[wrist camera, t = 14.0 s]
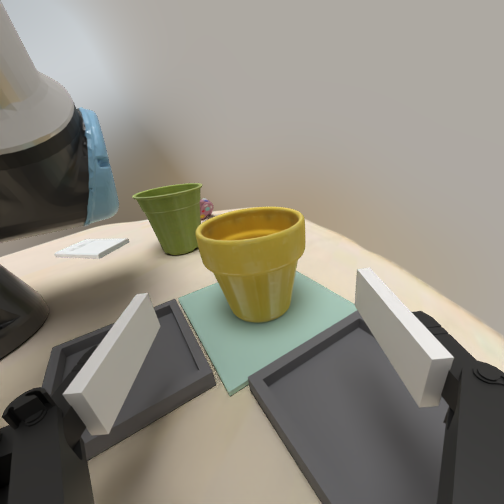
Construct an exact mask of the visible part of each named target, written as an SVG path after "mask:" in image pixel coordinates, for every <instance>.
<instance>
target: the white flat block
mask: <svg viewBox="0 0 504 504" xmlns="http://www.w3.org/2000/svg"><path fill="white" fill-rule="evenodd" d="M127 243H129V239H85V240H83V241H81V242H78V243H76V244H74V245H72V246H69V247H67V248H65V249H62V250H60V251H58V252H56V253H55V256H56V257H61V258H91V259H100V258H102V257H104V256H105V255H107V254H109V253H111V252H113V251H114V250H116V249H118V248H120V247H122V246H123V245H125V244H127Z"/></svg>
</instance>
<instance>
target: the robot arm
mask: <svg viewBox="0 0 504 504" xmlns="http://www.w3.org/2000/svg"><path fill="white" fill-rule="evenodd" d="M118 208H119V202H118V196H117V192H116V188H115V183H114V179H113V174H112V171H111V167H110V164H109V159H108V155H107V150H106V146H105V143H104V138H103V134H102V131H101V127H100V124H99V120H98V118H97V115H96V113H94V112H93V111H91V110H86V109H83V108H79V109H76V107H75V105H74V102H73V100H72V98H71V96H70V94H69V93H68V91H67V90H66V89H65V88H64V87H63V86H62V85H61V84H60V83H58V82H57V81H55V80H53V79H52V78H50V77H48V76H46V75H44V74H42V73H40V72H38V71H37V70H36V68H35V66H34V64H33V62H32V60H31V59H30V57H29V55H28V53H27V51H26V49H25V47H24V45H23V43H22V41H21V39H20V37H19V36H18V33H17V31H16V30H15V28H14V26H13V24H12V22H11V20H10V18H9V16H8V14H7V12H6V11H5V8H4V6H3V4H2V3H1V1H0V243H3V242H8V241H13V240H18V239H22V238H27V237H32V236H37V235H41V234H46V233H52V232H56V231H61V230H66V229H71V228H75V227H80V226H87V225H89V224H90V223H93V222H97V221H100V220H104V219H107V218H110V217H112V216H114V215H115V214H116V213H117V211H118ZM355 307H356V308H357V310H358V312H359V313H360V315H361V316H362V318H363V320H364V321H365V323H366V324H367V326H368V327H369V329H370V331H371V332H372V334H373V335H374V337H375V339H376V340H377V342H378V343H379V345H380V346H381V348H382V350H383V351H384V353H385V354H386V356H387V357H388V359H389V361H390V362H391V364H392V365H393V367H394V369H395V370H396V372H397V373H398V375H399V376H400V378H401V380H402V381H403V383H404V384H405V386H406V388H407V389H408V391H409V392H410V394H411V395H412V397H413V399H414V400H415V402H416V403H417V405H418V406H419V408H420V407H432V406H439V403H440V400H441V397H443V399H444V400H445V401H446V403H447V404H448V405H449V407H448V410H447V413H446V416H445V419H444V422H443V423H445V424H446V427H445V435H444V444H443V453H442V462H441V470H440V479H439V488H438V497H437V504H504V372H502V371H501V370H499V369H498V368H496V367H494V366H492V365H490V364H487V363H484V362H480V361H477V360H476V359H475V358H474V357H473V356H472V355H471V354H470V353H468V352H467V351H466V350H465V349H464V348H463V347H462V346H461V345H460V344H459V343H458V342H457V341H456V340H455V339H454V338H453V337H452V336H451V335H450V334H448V332H447V331H446V330H445V329H444V328H442V327H441V325H440V324H439V323H438V322H437V321H436V320H435V319H434V318H432V317H431V316H429V315H427V314H425V313H424V312H422V311H417V312H411V311H410V310H409V309H408V308H407V307H406V306H405V305H404V304H403V303H402V302H401V300H400V299H399V298H398V297H397V296H396V295H395V294H394V293H393V292H392V291H391V290H390V289H389V288H388V287H387V286H386V284H385V283H384V282H383V281H382V280H381V279H380V278H379V277H378V276H377V275H376V274H375V273H374V272H373V271H372V270H371V268H363V269H357V278H356V293H355ZM48 313H49V308H48V306H47V305H46V303H45V301H44V300H43V298H42V297H41V295H40V294H39V293H38V292H37V291H35V290H34V289H33V288H31V287H30V286H29V285H27V284H26V283H25V282H23V281H22V280H21V279H19V278H18V277H16V276H15V275H14V274H12V273H11V272H10V271H8V270H7V269H6V268H4V267H3V266H2V265H0V359H1V358H2V357H4V356H5V355H7V354H8V353H10V352H11V351H13V350H14V349H15V348H17V347H18V346H19V345H21V344H22V343H23V342H24V341H26V340H27V339H28V338H29V337H30V336H32V335H33V334H34V333H35V332H36V331H37V330H38V329H39V328H40V327H41V325H42V324H43V323H44V321H45V320H46V318H47V316H48ZM159 328H160V323H159V321H158V318H157V315H156V313H155V310H154V307H153V305H152V302H151V299H150V297H149V294H148V293H143V294H136V295H135V297H134V298H133V299H132V301H131V302H130V304H129V305H128V306H127V308H126V309H125V310H124V312H123V313H122V314H121V316H120V317H119V318H118V320H117V321H116V323H115V324H114V325H113V327H112V328H111V329H110V331H109V332H108V333H107V335H106V336H105V337H104V339H103V340H102V342H101V343H100V344H99V345H96V346H93V347H92V348H91V349H90V350H88V351H87V352H86V353H85V354H84V355H83V356H82V357H81V359H80V360H79V361H78V363H77V365H75V366H74V368H73V369H72V370H71V373H69V374H68V375H67V377H66V378H65V379H64V381H63V382H62V383H61V385H60V386H59V387H58V388H57V390H56V391H55V392H54V394H53V395H52V396H50V395H49V393H48V392H47V391H46V389H45V388H41V387H39V388H34V389H31V390H29V391H27V392H25V393H23V394H22V395H20V396H19V397H17V398H16V399H15V400H14V401H12V402H11V403H10V404H9V405H8V407H7V408H6V409H5V410H4V413H3V415H2V417H3V418H4V420H5V421H6V422H7V423H8V424H9V426H6V427H3V428H1V429H0V504H94V499H93V493H92V487H91V481H90V475H89V469H88V464H87V458H86V452H85V446H84V441H83V439H82V438H81V435H82V434H83V432H84V430H85V428H87V430H88V431H89V433H90V434H91V435H92V436H93V435H104V434H109V432H110V430H111V428H112V426H113V424H114V422H115V420H116V418H117V416H118V414H119V412H120V409H121V407H122V405H123V403H124V401H125V399H126V397H127V395H128V393H129V391H130V389H131V387H132V384H133V382H134V380H135V378H136V376H137V374H138V372H139V370H140V368H141V366H142V364H143V362H144V360H145V357H146V355H147V353H148V351H149V349H150V347H151V345H152V343H153V341H154V339H155V337H156V335H157V332H158V330H159Z"/></svg>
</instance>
